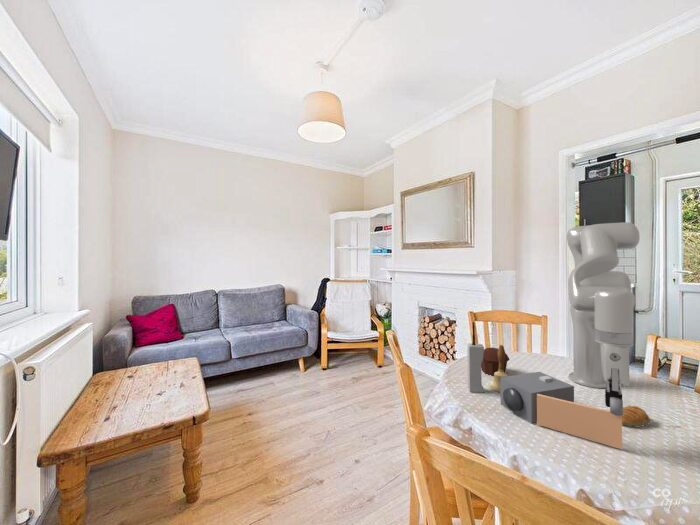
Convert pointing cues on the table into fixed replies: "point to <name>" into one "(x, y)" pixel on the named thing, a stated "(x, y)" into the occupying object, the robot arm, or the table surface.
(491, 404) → the table surface
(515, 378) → the cabinet body
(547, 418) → the side door
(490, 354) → the muffin
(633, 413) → the pastry
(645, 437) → the table surface
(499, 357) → the hand bell
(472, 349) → the vintage mobile phone
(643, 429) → the table surface
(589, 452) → the table surface
